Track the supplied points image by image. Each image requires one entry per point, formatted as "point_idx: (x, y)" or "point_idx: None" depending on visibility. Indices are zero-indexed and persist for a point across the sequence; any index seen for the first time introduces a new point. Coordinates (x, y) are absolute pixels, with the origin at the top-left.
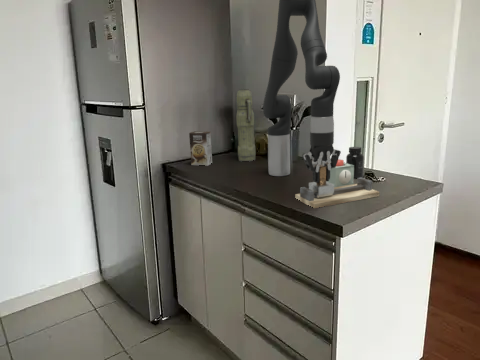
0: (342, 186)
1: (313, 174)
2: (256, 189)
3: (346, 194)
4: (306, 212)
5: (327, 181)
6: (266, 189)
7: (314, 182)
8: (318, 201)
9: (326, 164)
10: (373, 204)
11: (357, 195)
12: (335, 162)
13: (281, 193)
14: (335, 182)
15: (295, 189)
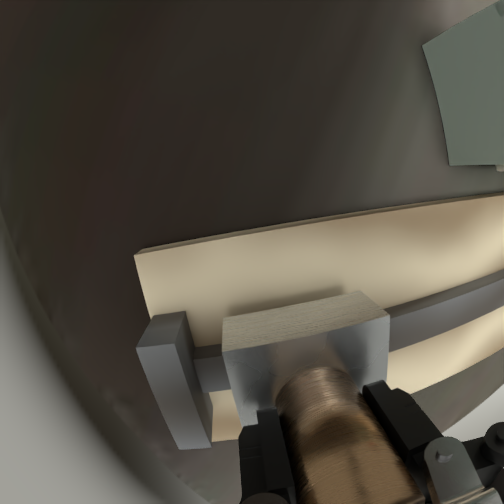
0: (481, 204)
1: (243, 485)
2: (23, 27)
3: (425, 352)
4: (153, 446)
5: (450, 78)
6: (59, 27)
7: (279, 356)
8: (233, 422)
9: (459, 482)
10: (437, 413)
11: (447, 373)
12: (502, 493)
13: (96, 113)
14: (477, 163)
15: (219, 53)
